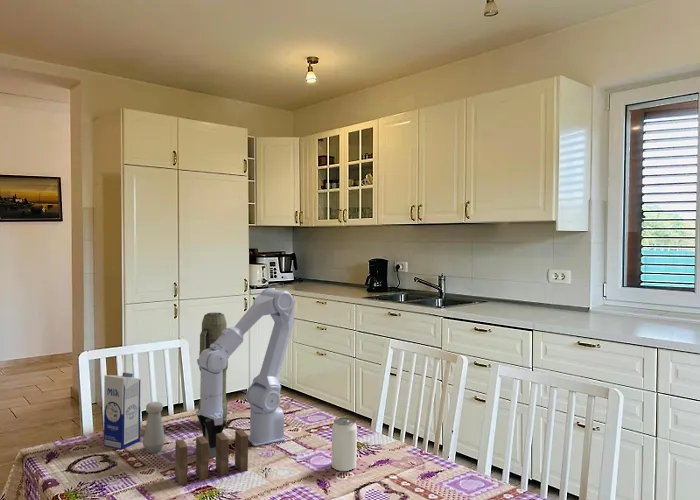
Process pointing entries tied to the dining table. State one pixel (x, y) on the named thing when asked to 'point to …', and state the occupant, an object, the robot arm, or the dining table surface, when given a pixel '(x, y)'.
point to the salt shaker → (154, 428)
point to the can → (344, 444)
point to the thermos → (209, 334)
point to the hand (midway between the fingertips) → (210, 443)
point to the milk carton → (121, 410)
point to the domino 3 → (211, 450)
